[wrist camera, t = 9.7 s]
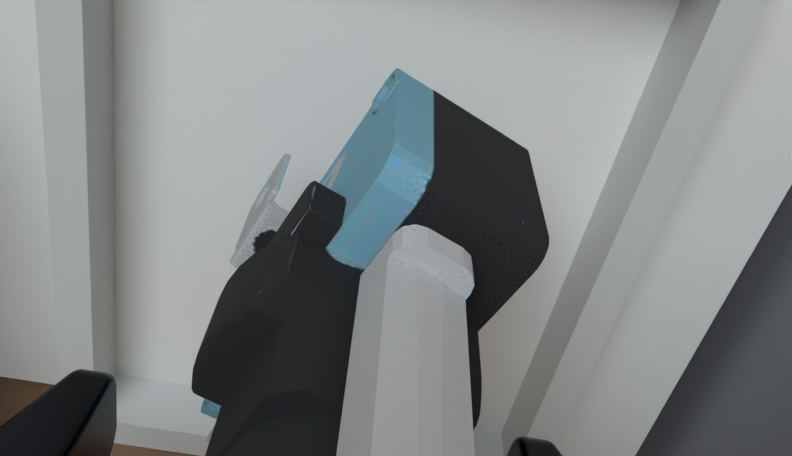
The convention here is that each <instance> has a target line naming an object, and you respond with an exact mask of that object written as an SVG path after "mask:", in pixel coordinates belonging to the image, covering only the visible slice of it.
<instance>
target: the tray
mask: <svg viewBox="0 0 792 456" xmlns="http://www.w3.org/2000/svg"><path fill="white" fill-rule="evenodd" d="M396 68H399V69H400V70H402V71H403V72H405V73H406V74H408V75H410V76H411V77H413V78H414V79H416V80H418V81H419V82H421V83H422V84H424V85H425V86H427V87H429V88H430V89H432V90H434V91H436V92H437V93H439V94H441V95H442V96H444V97H445V98H447V99H449V100H450V101H452V102H453V103H455V104H456V105H458V106H460V107H461V108H463V109H464V110H466V111H467V112H469V113H471V114H472V115H474V116H475V117H477V118H479V119H480V120H482V121H483V122H485V123H486V124H488V125H490V126H491V127H493V128H494V129H496V130H497V131H499V132H501V133H502V134H504V135H505V136H507V137H508V138H510V139H511V140H513V141H515V142H516V143H518V144H519V145H521V146H523V147H524V148H526V149H527V150H528V151H529V155H530V159H531V164H532V168H533V172H534V176H535V180H536V184H537V188H538V193H539V197H540V201H541V205H542V209H543V213H544V217H545V222H546V226H547V230H548V234H549V246H548V250H547V253H546V256H545V258H544V260H543V261H542V263H541V265H540V266H539V268H538V269H537V270H536V271H535V272H534V273H533V275H532V276H531V277H530V278H529V279H528V280H527V281H526V282H525V283H524V284H523V285H522V286H521V287H520V288H519V289H518V290H517V291H516V292H515V294H514V295H513V296H512V297H511V298H510V299H509V300H508V301H507V302H506V303H505V304H504V305H503V306H502V307H501V308H500V309H499V310H498V311H497V313H496V314H495V315H494V316H493V317H492V318H491V319H490V320H489V321H488V322H487V323H486V324H485V325H484V326H483V327H482V328H481V329H480V330H479V331H478V337H479V350H480V363H481V375H482V396H481V409H480V416H479V419H478V422H477V425H476V427H475V429H474V431H473V433H474V450H475V456H507V454H508V451H509V449H510V447H511V445H512V443H513V441H514V440H515V439H516V438H517V437H521V436H524V437H530V438H537V439H543V440H548V441H550V442H552V443H553V444H554V445H555V446H556V447H557V449H558V450H559V451H560V453H561V454H562V456H635V455H636V454H637V452H638V450H639V448H640V447H641V445H642V443H643V441H644V440H645V438H646V436H647V434H648V433H649V431H650V429H651V427H652V426H653V424H654V422H655V421H656V419H657V417H658V415H659V414H660V412H661V410H662V408H663V407H664V405H665V403H666V401H667V400H668V398H669V396H670V395H671V393H672V391H673V389H674V388H675V386H676V384H677V382H678V381H679V379H680V377H681V375H682V374H683V372H684V370H685V369H686V367H687V365H688V363H689V362H690V360H691V358H692V356H693V355H694V353H695V351H696V349H697V348H698V346H699V344H700V342H701V341H702V339H703V337H704V336H705V334H706V332H707V330H708V329H709V327H710V325H711V323H712V322H713V320H714V318H715V316H716V315H717V313H718V311H719V310H720V308H721V306H722V304H723V303H724V301H725V299H726V297H727V296H728V294H729V292H730V290H731V289H732V287H733V285H734V284H735V282H736V280H737V278H738V277H739V275H740V273H741V271H742V270H743V268H744V266H745V264H746V263H747V261H748V259H749V257H750V256H751V254H752V252H753V251H754V249H755V247H756V245H757V244H758V242H759V240H760V238H761V237H762V235H763V233H764V231H765V230H766V228H767V226H768V225H769V223H770V221H771V219H772V218H773V216H774V214H775V212H776V211H777V209H778V207H779V205H780V204H781V202H782V200H783V199H784V197H785V195H786V193H787V192H788V190H789V188H790V186H791V185H792V0H0V376H1V377H7V378H14V379H20V380H27V381H33V382H40V383H46V384H53V385H55V384H56V383H58V382H59V381H60V380H62V379H63V378H64V377H66V376H67V375H68V374H69V373H71V372H73V371H75V370H78V369H85V370H92V371H98V372H105V373H110V374H112V375H113V376H114V377H115V380H116V385H117V427H116V434H115V439H114V443H117V444H124V445H130V446H137V447H144V448H151V449H158V450H164V451H171V452H178V453H185V454H192V455H198V456H205V454H206V451H207V448H208V445H209V443H208V441H207V439H206V438H207V435H208V434H209V432H210V431H211V430H212V428H213V427H214V426H215V423H216V420H217V419H214V418H212V417H210V416H208V415H205V414H203V413H201V407H202V403H203V400H204V398H203V397H200V396H198V395H196V394H194V393H193V391H192V389H191V385H192V373H193V367H194V364H195V360H196V357H197V354H198V351H199V348H200V346H201V343H202V341H203V338H204V335H205V333H206V330H207V328H208V325H209V323H210V320H211V317H212V315H213V312H214V310H215V307H216V305H217V302H218V299H219V297H220V295H221V293H222V291H223V289H224V287H225V285H226V283H227V281H228V280H229V279H230V277H231V276H232V275H233V274H234V272H235V271H236V270H237V269H236V268H234V267H233V266H232V265H231V264H230V260H231V258H232V256H233V254H234V253H235V251H236V249H235V247H236V245H237V242H238V239H239V237H240V234H241V232H242V229H243V227H244V224H245V222H246V219H247V217H248V214H249V212H250V209H251V207H252V205H253V204H254V202H255V200H256V198H257V196H258V194H259V193H260V191H261V190H262V188H263V186H264V185H265V183H266V182H267V180H268V179H269V177H270V175H271V174H272V172H273V171H274V169H275V168H276V166H277V164H278V163H279V161H280V160H281V158H282V156H284V155H285V154H286V153H287V154H289V155H290V156H291V157H290V160H289V163H288V166H287V169H286V172H285V175H284V178H283V181H282V183H281V186H280V189H279V192H278V194H277V196H276V197H275V199H274V200H273V201H275V202H276V204H277V205H278V206H280V207H281V208H283V209H285V210H287V211H288V212H290V211H291V210H292V208H293V207H294V205H295V204H296V202H297V201H298V199H299V198H300V196H301V195H302V193H303V192H304V190H305V189H306V188H307V186H308V185H309V184H310V183H311V182H312V181H316V182H318V183H320V181H321V180H322V178H323V177H324V175H325V174H326V172H327V171H328V169H329V168H330V166H331V165H332V163H333V162H334V161H335V159H336V158H337V156H338V155H339V153H340V152H341V150H342V149H343V147H344V146H345V144H346V143H347V141H348V140H349V139H350V137H351V136H352V134H353V133H354V131H355V130H356V128H357V127H358V125H359V124H360V122H361V121H362V119H363V118H364V117H365V115H366V114H367V112H368V111H369V109H370V108H371V106H372V101H373V99H374V97H375V96H376V94H377V93H378V92H379V90H380V89H381V87H382V86H383V84H384V83H385V81H386V80H387V79H388V77H389V76H390V75H391V73H392V72H393V71H394V70H395V69H396Z"/></svg>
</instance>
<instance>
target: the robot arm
mask: <svg viewBox="0 0 792 456" xmlns="http://www.w3.org/2000/svg"><path fill="white" fill-rule="evenodd" d="M116 427H117V385H116V380H115V377H114V376H113V375H112V374H110V373H105V372H98V371H92V370H85V369H78V370H75V371H73V372H71V373H69V374H68V375H67V376H66V377H64V378H63V379H62V380H60V381H59V382H58V383H56V384H55V385H54V386H53V387H51V388H50V389H49V390H47V391H46V392H45V393H44V394H42V395H41V396H40V397H38V398H37V399H36V400H35V401H33V402H32V403H31V404H29V405H28V406H27V407H25V408H24V409H23V410H22V411H20V412H19V413H18V414H16V415H15V416H14V417H13V418H11V419H10V420H9V421H7V422H6V423H5V424H4V425H2V426H1V427H0V456H110V453H111V450H112V447H113V443H114V439H115V434H116ZM507 456H562V454H561V453H560V451H559V450H558V449H557V447H556V446H555V445H554V444H553V443H552V442H550V441H548V440H543V439H537V438H530V437H524V436H521V437H517V438H516V439H515V440H514V441H513V443H512V445H511V447H510V449H509V451H508V454H507Z"/></svg>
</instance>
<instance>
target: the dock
mask: <svg viewBox="0 0 792 456" xmlns="http://www.w3.org/2000/svg"><path fill="white" fill-rule="evenodd" d="M635 456H792V185H791V186H790V188H789V190H788V192H787V193H786V195H785V197H784V199H783V200H782V202H781V204H780V205H779V207H778V209H777V211H776V212H775V214H774V216H773V218H772V219H771V221H770V223H769V225H768V226H767V228H766V230H765V231H764V233H763V235H762V237H761V238H760V240H759V242H758V244H757V245H756V247H755V249H754V251H753V252H752V254H751V256H750V257H749V259H748V261H747V263H746V264H745V266H744V268H743V270H742V271H741V273H740V275H739V277H738V278H737V280H736V282H735V284H734V285H733V287H732V289H731V290H730V292H729V294H728V296H727V297H726V299H725V301H724V303H723V304H722V306H721V308H720V310H719V311H718V313H717V315H716V316H715V318H714V320H713V322H712V323H711V325H710V327H709V329H708V330H707V332H706V334H705V336H704V337H703V339H702V341H701V342H700V344H699V346H698V348H697V349H696V351H695V353H694V355H693V356H692V358H691V360H690V362H689V363H688V365H687V367H686V369H685V370H684V372H683V374H682V375H681V377H680V379H679V381H678V382H677V384H676V386H675V388H674V389H673V391H672V393H671V395H670V396H669V398H668V400H667V401H666V403H665V405H664V407H663V408H662V410H661V412H660V414H659V415H658V417H657V419H656V421H655V422H654V424H653V426H652V427H651V429H650V431H649V433H648V434H647V436H646V438H645V440H644V441H643V443H642V445H641V447H640V448H639V450H638V452H637V454H636V455H635Z"/></svg>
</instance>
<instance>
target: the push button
mask: <svg viewBox="0 0 792 456" xmlns="http://www.w3.org/2000/svg"><path fill="white" fill-rule="evenodd" d="M290 157H291V156H290V155H289V154H287V153H286V154H285V155H284V156H282V158H281V160H280V161H279V163H278V164H277V166H276V168H275V169H274V171H273V172H272V174H271V175H270V177H269V179H268V180H267V182H266V183H265V185H264V186H263V188H262V190H261V191H260V193H259V194H258V196H257V198H256V200H255V202H254V204H253V205H252V207H251V209H250V212H249V214H248V217H247V219H246V222H245V224H244V227H243V229H242V232H241V234H240V237H239V239H238V242H237V245H236V247H235V249H236V251H235V253H234V254H233V256H232V258H231V260H230V264H231V265H232V266H233V267H234V268H236V269H237V270H236V271H235V272H234V274H233V275H232V276H231V277H230V279H229V280H228V281H227V283H226V285H225V287H224V289H223V291H222V293H221V295H220V297H219V299H218V302H217V305H216V307H215V310H214V312H213V315H212V317H211V320H210V323H209V325H208V328H207V330H206V333H205V335H204V338H203V341H202V343H201V346H200V348H199V351H198V354H197V357H196V360H195V364H194V367H193V373H192V385H191V389H192V391H193V393H194V394H196V395H198V396H200V397H203V398H204V400H203V403H202V407H201V413H203V414H205V415H208V416H210V417H212V418H214V419H217V420H216V423H215V426H214V427H213V428H212V430H211V431H210V432H209V434H208V435H207V438H206V439H207V441H208V443H209V445H208V448H207V451H206V454H205V456H475V450H474V433H473V431H474V429H475V427H476V425H477V422H478V419H479V416H480V409H481V396H482V375H481V363H480V350H479V337H478V331H479V330H480V329H481V328H482V327H483V326H484V325H485V324H486V323H487V322H488V321H489V320H490V319H491V318H492V317H493V316H494V315H495V314H496V313H497V311H498V310H499V309H500V308H501V307H502V306H503V305H504V304H505V303H506V302H507V301H508V300H509V299H510V298H511V297H512V296H513V295H514V294H515V292H516V291H517V290H518V289H519V288H520V287H521V286H522V285H523V284H524V283H525V282H526V281H527V280H528V279H529V278H530V277H531V276H532V275H533V273H534V272H535V271H536V270H537V269H538V268H539V266H540V265H541V263H542V261H543V260H544V258H545V256H546V253H547V250H548V246H549V234H548V230H547V226H546V222H545V217H544V213H543V209H542V205H541V201H540V197H539V193H538V188H537V184H536V180H535V176H534V172H533V168H532V164H531V159H530V155H529V151H528V150H527V149H526V148H524V147H523V146H521V145H519V144H518V143H516V142H515V141H513V140H511V139H510V138H508V137H507V136H505V135H504V134H502V133H501V132H499V131H497V130H496V129H494V128H493V127H491V126H490V125H488V124H486V123H485V122H483V121H482V120H480V119H479V118H477V117H475V116H474V115H472V114H471V113H469V112H467V111H466V110H464V109H463V108H461V107H460V106H458V105H456V104H455V103H453V102H452V101H450V100H449V99H447V98H445V97H444V96H442V95H441V94H439V93H437V92H436V91H434V90H432V89H430V88H429V87H427V86H425V85H424V84H422V83H421V82H419V81H418V80H416V79H414V78H413V77H411V76H410V75H408V74H406V73H405V72H403V71H402V70H400V69H399V68H396V69H395V70H394V71H393V72H392V73H391V75H390V76H389V77H388V79H387V80H386V81H385V83H384V84H383V86H382V87H381V89H380V90H379V92H378V93H377V94H376V96H375V97H374V99H373V101H372V106H371V108H370V109H369V111H368V112H367V114H366V115H365V117H364V118H363V119H362V121H361V122H360V124H359V125H358V127H357V128H356V130H355V131H354V133H353V134H352V136H351V137H350V139H349V140H348V141H347V143H346V144H345V146H344V147H343V149H342V150H341V152H340V153H339V155H338V156H337V158H336V159H335V161H334V162H333V163H332V165H331V166H330V168H329V169H328V171H327V172H326V174H325V175H324V177H323V178H322V180H321V181H320V183H318V182H316V181H312V182H311V183H310V184H309V185H308V186H307V188H306V189H305V190H304V192H303V193H302V195H301V196H300V198H299V199H298V201H297V202H296V204H295V205H294V207H293V208H292V210H291V211H290V212H288V211H287V210H285V209H283V208H281V207H280V206H278V205H277V204H276V202H275V201H273V200H274V199H275V197H276V196H277V194H278V192H279V189H280V186H281V183H282V181H283V178H284V175H285V172H286V169H287V166H288V163H289V160H290Z"/></svg>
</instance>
